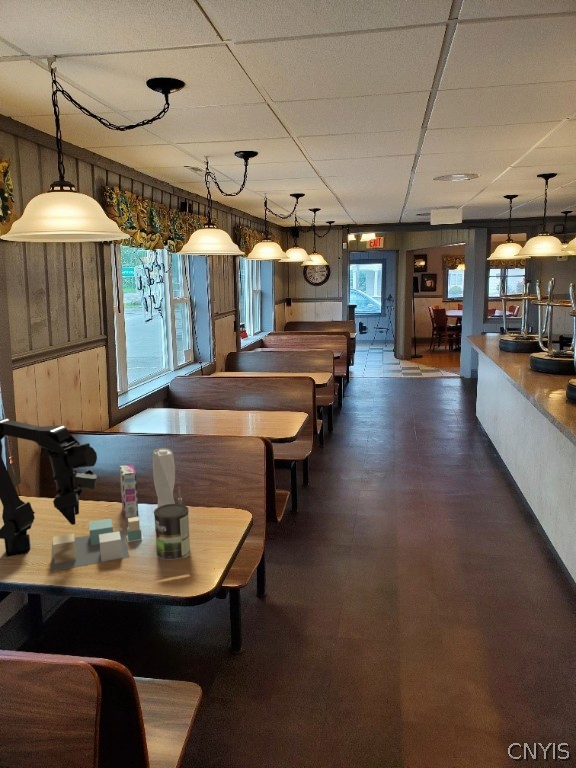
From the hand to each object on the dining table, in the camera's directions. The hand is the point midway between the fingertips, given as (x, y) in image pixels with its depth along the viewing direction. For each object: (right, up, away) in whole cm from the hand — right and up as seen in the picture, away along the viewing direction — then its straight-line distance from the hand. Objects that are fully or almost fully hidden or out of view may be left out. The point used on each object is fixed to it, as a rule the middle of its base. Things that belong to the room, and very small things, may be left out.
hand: (75, 519), depth 175 cm
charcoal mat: (+2, -12, +8) cm, 14 cm away
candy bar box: (+7, -6, +37) cm, 38 cm away
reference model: (+14, -10, +15) cm, 23 cm away
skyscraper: (+23, -8, +26) cm, 35 cm away
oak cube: (-4, -12, +2) cm, 13 cm away
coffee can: (+28, -12, +5) cm, 31 cm away
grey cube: (+10, -12, +3) cm, 16 cm away
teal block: (+3, -10, +14) cm, 18 cm away
